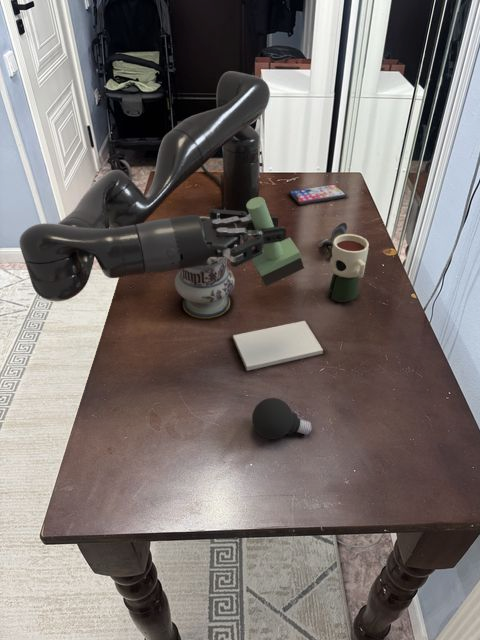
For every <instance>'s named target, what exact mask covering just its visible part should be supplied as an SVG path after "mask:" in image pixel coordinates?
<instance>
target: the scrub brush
mask: <svg viewBox="0 0 480 640" xmlns="http://www.w3.org/2000/svg"><path fill="white" fill-rule="evenodd" d="M246 207H247V209H248V212H249V214H250V217H251V219H252V222H253V224H254V227H255V229H256V230H262V229H265V228H271V227H274V225H273V222H272V220H271V217H270V216H271V215H270V211H269V208H268V205H267V203H266V200H265V198H264V197H261V196H259V197H256V198H253V199H251V200H250V201H248V203H247V205H246ZM262 249H263V253H262V254H261V255H259V256H257V257H255V258H253V259H251V260H252V263H253V265H254V266H255V268H256V271H257V273H258V275H259V276H260V279H261V280H262V283H263V284H264V286H265V287H268V286H270V285H273V284H274V283H277V282H278V281H281V280H283V279H285V278H287V277H289V276H291V275H293V274H295V273H298V272H300V271H302V270H303V269H305V267H304V263H303V260H302V254H301V251H300V250H299V248H298V247H297V246H296V244H295V242H294V241H293V240H292V238H291V237H287V238H285V240H284V241H280V242H274V243H268V244H264V245H263V247H262Z"/></svg>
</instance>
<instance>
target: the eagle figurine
mask: <svg viewBox="0 0 480 640" xmlns="http://www.w3.org/2000/svg"><path fill="white" fill-rule="evenodd" d="M347 229H348V226H347V222H341V223H339V225H337V226H336V227H335V228H334V229H333V230H332V232H331V236H330V238H325V239H322V240H320V241H319V242H318V244H317V247H318V248H322V247H326V248H327V251H325V254H329V257H328V261H331V258H332V248H333V243H334V239H335V238H336V237H337V236H340V235H343V234H347Z"/></svg>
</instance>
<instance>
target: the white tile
mask: <svg viewBox="0 0 480 640" xmlns="http://www.w3.org/2000/svg"><path fill="white" fill-rule="evenodd" d="M232 340H233V343H234V344H235V347H236V349H237V352H238V354H239V356H240V358H241V361H242V362H243V365H244V367H245V370H246V371H247V372H248V371H252V370H257V369H261V368H266V367H269V366H274V365H278V364H283V363H288V362H292V361H296V360H301V359H305V358H306V359H307V358H309V357H314V356H318V355H323V354H324V349H323V348H322V346H321V344H320V342H319V341H318V339H317V338H316V336H315V334H314V333H313V331H312V329H311V328H310V326H309V325H308V323H307V322H306V320H302V321H296V322H291V323H285V324H282V325H277V326H272V327H267V328H262V329H258V330H252V331H248V332H243V333H238V334H233V335H232Z"/></svg>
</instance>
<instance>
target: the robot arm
mask: <svg viewBox="0 0 480 640" xmlns="http://www.w3.org/2000/svg"><path fill="white" fill-rule="evenodd" d="M269 87H270V86H269V85H268V83H267V82H266V81H265V79H263V78H261V77H259V76H257V75H253V74H248V73H244V72H239V71H233V70H229V71H226V72H224V73H223V74H222V75H221V77H220V79H219V81H218V83H217V87H216V108H213V109H211V110H207V111H202V112H200V113H197V114H193V115H191V116H189V117H187V118H185V119H183V120H182V121H180V122H179V123H178V124H177V125H176V126H174V127H173V128H172V129H171V130H170V131H168V132H167V133H166V134H165V135H164V136H163V138H162V140H161V143H160V146H159V149H158V152H157V153H158V154H157V159H156V165H155V171H154V175H153V178H152V182H151V184H150V186H149V189H148V190H147V192H146V194H144V193H143V192H142V190H141V189H140V188H139V187H138V186H137V185H136V183H135V182H134V181H133V180H132V179H131V178H130V176H129V175H128V174H127V173H125V171H123V170H121V169H112V170H110V171H108V172H106V173H104V174H103V175H102V176H101V177H100V178H98V179H97V180H96V181H94V183H93V184H92V185H91V186H89V188H88V189H87V190H86V192H85V193H84V195H83V196H82V197H81V198H80V199H79V202H78V203H77V204H76V207H75V208H74V209H73V210H72V211H71V212H70V213H69V214H67V215H66V216H65V217H64V218H62V220H60V221H59V222H58V223H51V222H50V223H49V222H48V223H47V222H45V223H38V224H34V225H32V226H29V227H28V228H26V230H24V231H23V232H22V233H21V235H20V237H19V248H20V251H21V254H22V258H23V260H24V263H25V267H26V270H27V273H28V276H29V279H30V282H31V286H32V288H33V290H34V292H35V293H36V294H37V295H38V296H39V297H41V298H42V299H44V300H47V301H50V302H56V303H57V302H65V301H68V300H71V299H72V298H75V297H76V296H77V295H78V294H80V293H81V292H82V291H83V290H84V289H85V287H86V285H87V284H88V282H89V278H90V276H91V274H92V270H93V266H94V262H95V259H96V262H97V263H98V266H99V267H100V270H101V272H102V273H103V274H104V276H105V277H106V278H109V279H119V278H120V279H121V278H125V277H131V276H138V275H143V274H152V273H153V274H154V273H155V274H156V273H166V272H172V271H178V270H179V271H180V269H185V268H191V267H197V266H203V265H205V264H206V263H207V260H208V259H209V258H210V257H219V258H221V257H226V258H227V260H229V264H230V266H231V267H233V268H235V267H238V266H241V265H243V264H245V263H247V262H249V261H251V260H252V259H253V258H255V257H257V256H259V255H261V254H262V253H263V250H264V249H263V245H264V244H268V243H274V242H281V241H284V240H285V239H287V238H286V237H287V229H286V227H285V226H284V225H279V218H278V216H277V215H275V214H273V215H270V217H271V220H272V222H273V225H274V227H271V228H265V229H262V230H256V229H255V227H254V224H253V222H252V219H251V217H250V214H249V212H248V209H247V207H246V205H247V203H248V201H250V200H251V199H253V198H256V197H260V158H261V157H260V156H261V155H260V152H261V147H260V146H261V137H260V134H259V133H258V131H257V130H256V129H254V128H253V127H252V126H251V125H252V124H254V123H255V122H256V121H257V120H259V118H261V116H262V115H263V114H264V113H265V111H266V109H267V107H268V105H269V102H270V97H271V95H270V94H271V92H270V88H269ZM221 148H222V169H223V170H222V173H221V174H220V179H219V178H218V177H217V176H216V175H214V174H213V173H212V172H211V171H208V169H206V167H205V164H206V163H207V162H208V161H209V160H210V159H211V158H212V157H213V156H214V155H215V154H216V153H217V152H218V151H219V150H221ZM200 168H201V170H202V171H203V172H204V173H205V174H206V175H208V177H210V178H212V179H213V180H214V181H215V182H216V183H218V185H219V187H220V197H221V209H218V208H217V209H216V208H210V209H209V210H208V217H209V219H207V220H204V221H201V219H200V217H201V216H199V215H198V214H187V215H180V216H174V217H166V218H160V219H159V218H158V219H153V220H148V218H150V217H151V216H152V215H153V213H155V211H156V210H157V209H159V207H160V206H161V205H162V204H163V203H164V202H165V201H166V199H168V197H170V195H171V194H172V193H173V192H174V191H176V190H177V188H179V187H180V186H181V185H182V184H183V183H184V182H185V181H186V180H188V179H189V178H190V177H191V176H193V175H194V174H195V173H196V172H197V171H198V170H200ZM249 238H250V239H249Z"/></svg>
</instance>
